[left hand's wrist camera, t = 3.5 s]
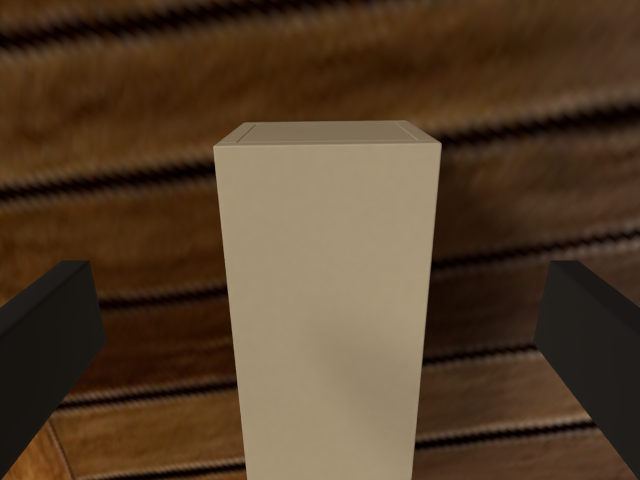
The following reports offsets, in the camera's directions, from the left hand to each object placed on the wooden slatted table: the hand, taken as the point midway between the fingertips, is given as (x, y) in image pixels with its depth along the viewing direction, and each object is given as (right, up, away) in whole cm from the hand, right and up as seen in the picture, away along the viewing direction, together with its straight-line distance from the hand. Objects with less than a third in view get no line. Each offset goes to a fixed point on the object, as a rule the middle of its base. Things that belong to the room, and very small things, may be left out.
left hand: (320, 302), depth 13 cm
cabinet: (0, -1, +17) cm, 17 cm away
